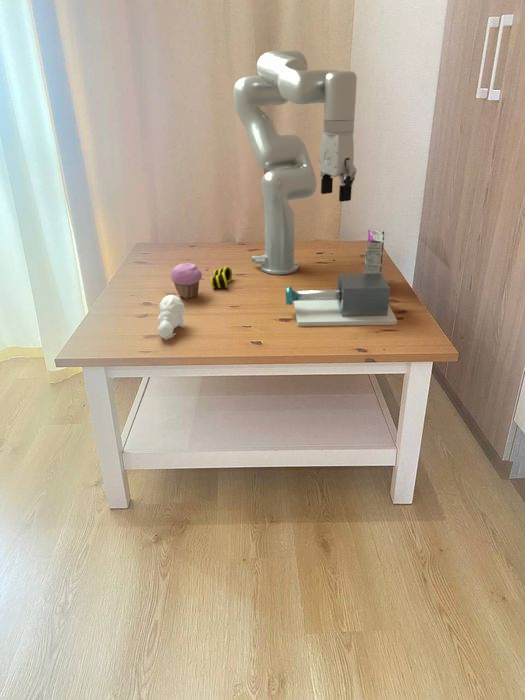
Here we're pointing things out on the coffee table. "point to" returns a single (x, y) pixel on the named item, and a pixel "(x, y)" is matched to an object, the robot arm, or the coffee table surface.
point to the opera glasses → (221, 278)
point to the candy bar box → (374, 251)
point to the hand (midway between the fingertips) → (335, 197)
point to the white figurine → (170, 316)
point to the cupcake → (186, 279)
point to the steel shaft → (311, 295)
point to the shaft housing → (363, 295)
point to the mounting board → (335, 315)
